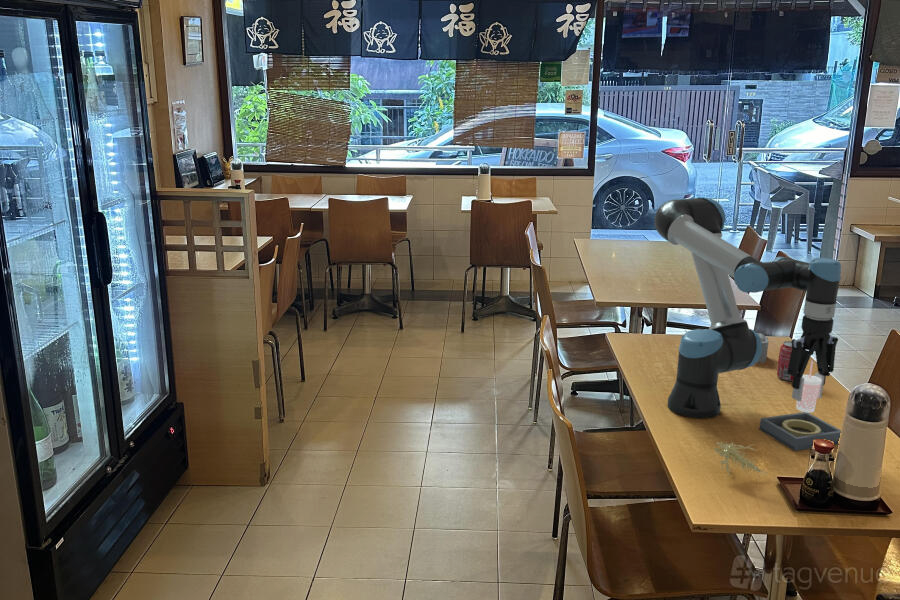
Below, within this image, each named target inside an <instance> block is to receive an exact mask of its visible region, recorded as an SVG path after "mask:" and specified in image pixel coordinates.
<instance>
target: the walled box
mask: <svg viewBox="0 0 900 600" xmlns="http://www.w3.org/2000/svg"><path fill="white" fill-rule="evenodd" d="M759 421H760V422H759V428H758V429H759V431H761V432H762V433H764V434H766V435H767V436H769V437H771V438H772V439H774V440H775V441H777V442H779V443H781V444H782V445H784V446H786V447H787V448H789V449H790V450H792V451H793V452H798V451H804V450H811V449H813V448H812V446H813V440H814V439H826V440H830V441H833V442H834V444H835V446H836V444H837V445H839V444H838V441H839V438H840V433H841V429H839V428H838V427H836V426H834V425H832V424H830V423H829V422H826V421H825V420H822V419H821V418H819V417H817V416H815V415H814V414H812V413H807V412H802V411H801V412H795V413H788V414H781V415H775V416H767V417H761V418H760V420H759ZM810 448H811V449H810Z"/></svg>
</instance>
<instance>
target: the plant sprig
mask: <svg viewBox="0 0 900 600" xmlns="http://www.w3.org/2000/svg"><path fill="white" fill-rule="evenodd" d="M716 445H718V446H719V447H720V448H719V447H718V446H715V447H714V449H713V450H714V451H715V452H716V453H718V454H719V456H721V458H724V460H718V461H719V463H720V464H721V465H724V464H725V472H727V474H728V475H729V476H730V477H732V475H731V474H730V473H731V472H732V470H733V468H732V467H731V466H730V465H729V463H732V466H735V465H736V466H737V467H738V468H741V469H742V471H743V472H744V474H745V475H746V477H747V474H746V470H747V472H748V473H749V475H751V476H753V477H754V478H756V476H755V475H753V474H752V473H751V472H749V471H751V470H752V472H753V473H754V474H757V476H758V477H757V478H756V480H757V481H759V479H758V478H761V477H760V476H759V475H760V474H761V475H763V476H765V477H768V473H767V472H766V471H765V470H763V469H760V468H759V467H758V465H755V463H757V461H755V458H753V457H752V458H751V459H750V457H748V456H747V457H745V455H747V454H749V455H750V453H745V451H746V450H748V449H749V450H752V451H757V452H758V451H759V450H757V449H755V448H752V447H751V446H754V445H755V446H756V444H750V445H748V446H743V444H742V445H740V444H734V441H733V442H732V441H731V442H730V443H727V442H725V443H723V442H719V441H717V442H716ZM757 446H758V447H761V448H764V446H760V445H759V444H757ZM741 450H742V451H741ZM759 452H760V451H759ZM759 452H758V453H759ZM755 455H757V454H756V453H755ZM757 456H758V455H757ZM760 458H761V459H763V460H765V461H766V460H767V459H766V458H765V457H761V456H760ZM730 459H731V461H730ZM753 459H754V460H753ZM720 469H721V470H723V466H721V467H720ZM731 469H732V470H731ZM739 471H740V473H741V470H739ZM755 472H756V473H755ZM758 474H759V475H758Z"/></svg>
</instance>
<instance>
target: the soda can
mask: <svg viewBox="0 0 900 600" xmlns="http://www.w3.org/2000/svg"><path fill="white" fill-rule="evenodd" d="M791 351H792V340H788V341H787V340H786V341H784V342H782V345H781V346H780V348H779V353H778V360H777V361H778V362H777V368H776V375H777V377H778V378H779V379H781V380H782V381H786V382H793V376H792V375H790V374H788V373H787V371H788V366H789V361H790V356H791ZM798 373H799V372H798Z"/></svg>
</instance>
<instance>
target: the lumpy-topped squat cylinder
mask: <svg viewBox="0 0 900 600" xmlns="http://www.w3.org/2000/svg"><path fill="white" fill-rule="evenodd" d="M756 333H757V334H758V335H759V336H760V339H761V342H762V353H761V356H760V357H759V360H758V361H757V363H765V362H767V356H768V350H769V338H768V336H766V335H764V334H763V333H760V332H759V333H758V332H756Z"/></svg>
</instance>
